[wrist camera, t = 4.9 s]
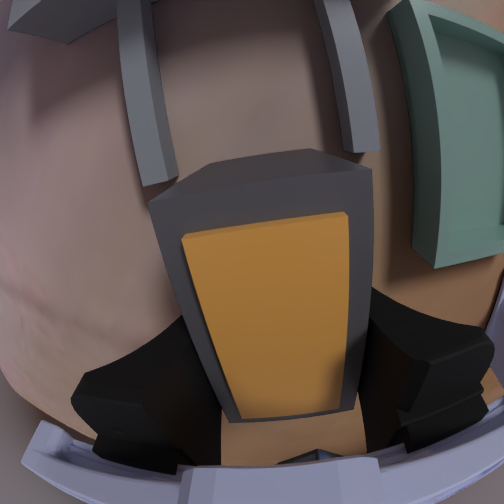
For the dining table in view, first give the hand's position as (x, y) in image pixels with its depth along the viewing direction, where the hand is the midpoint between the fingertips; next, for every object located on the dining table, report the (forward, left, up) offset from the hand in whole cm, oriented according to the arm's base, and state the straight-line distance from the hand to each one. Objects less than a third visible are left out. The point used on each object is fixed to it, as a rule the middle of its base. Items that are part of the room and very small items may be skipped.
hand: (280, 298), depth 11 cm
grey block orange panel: (+2, 0, -3) cm, 3 cm away
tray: (+6, -12, -3) cm, 14 cm away
